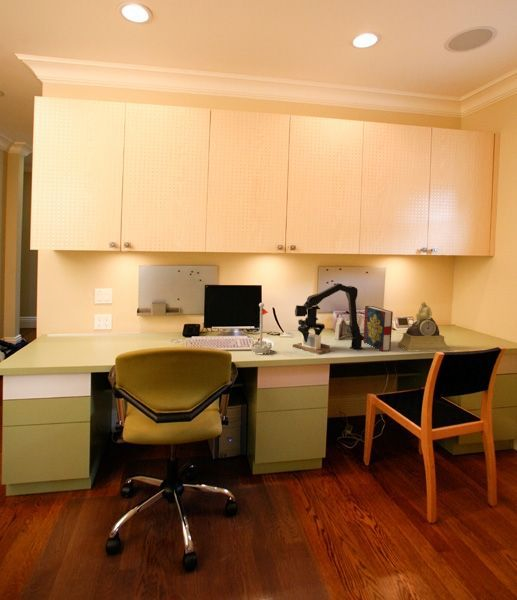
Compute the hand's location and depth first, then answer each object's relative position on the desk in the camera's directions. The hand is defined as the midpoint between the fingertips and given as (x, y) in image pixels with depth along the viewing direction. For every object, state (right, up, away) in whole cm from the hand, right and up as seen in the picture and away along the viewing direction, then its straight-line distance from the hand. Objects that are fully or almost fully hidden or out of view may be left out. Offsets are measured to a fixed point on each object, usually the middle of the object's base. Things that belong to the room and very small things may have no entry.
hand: (311, 341), depth 244 cm
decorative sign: (+29, -1, +36) cm, 46 cm away
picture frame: (0, -4, +1) cm, 4 cm away
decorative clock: (+73, -6, +8) cm, 74 cm away
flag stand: (-31, -6, -7) cm, 33 cm away
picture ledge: (0, -5, +1) cm, 5 cm away
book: (+43, -5, +11) cm, 45 cm away
